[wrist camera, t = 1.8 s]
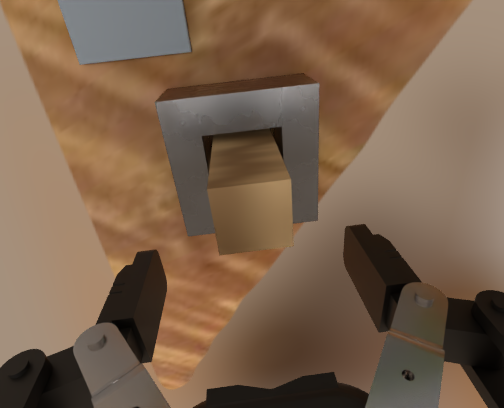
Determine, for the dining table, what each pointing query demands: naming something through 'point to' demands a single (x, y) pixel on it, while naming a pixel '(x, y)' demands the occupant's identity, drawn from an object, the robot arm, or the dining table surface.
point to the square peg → (249, 193)
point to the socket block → (236, 120)
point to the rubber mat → (125, 28)
